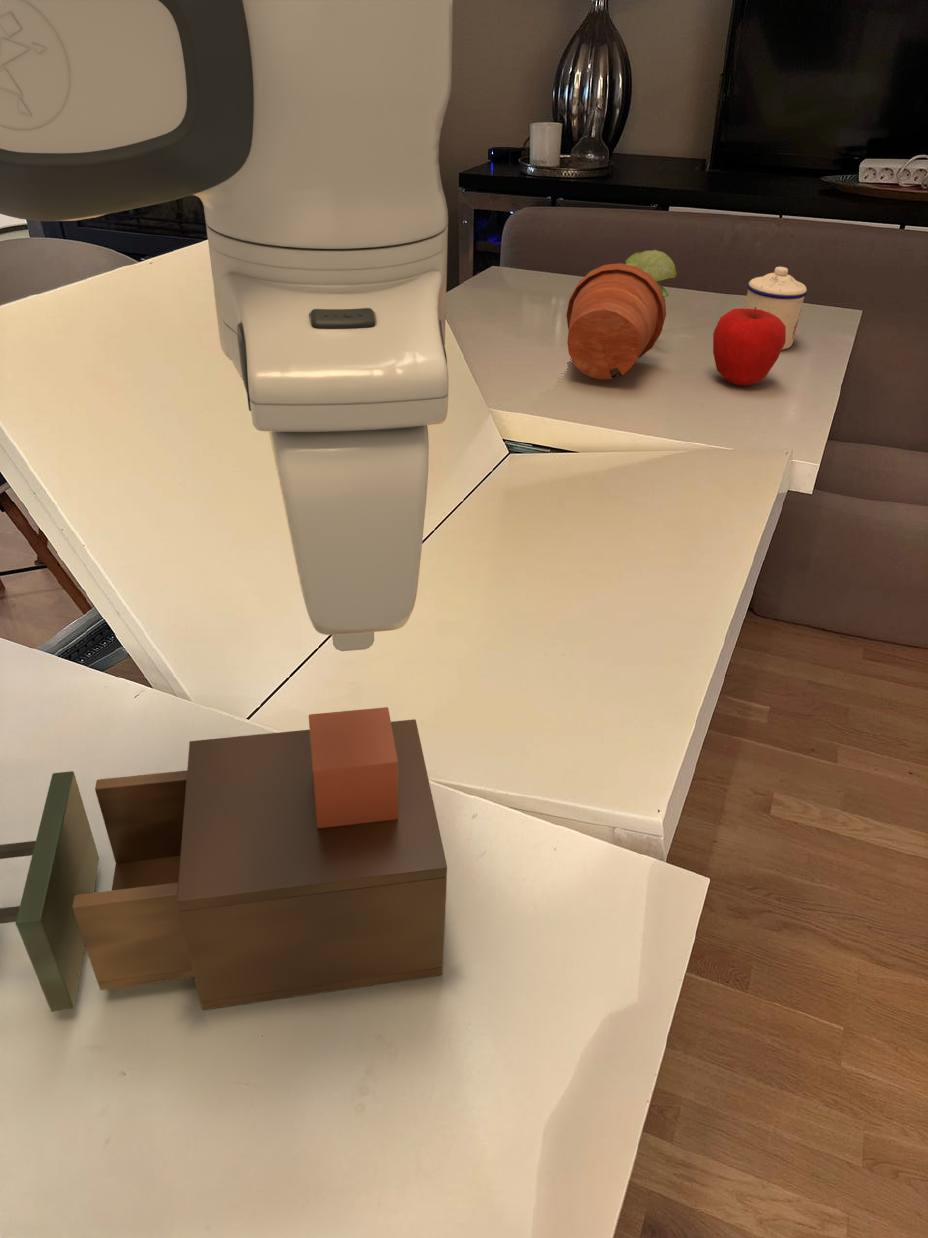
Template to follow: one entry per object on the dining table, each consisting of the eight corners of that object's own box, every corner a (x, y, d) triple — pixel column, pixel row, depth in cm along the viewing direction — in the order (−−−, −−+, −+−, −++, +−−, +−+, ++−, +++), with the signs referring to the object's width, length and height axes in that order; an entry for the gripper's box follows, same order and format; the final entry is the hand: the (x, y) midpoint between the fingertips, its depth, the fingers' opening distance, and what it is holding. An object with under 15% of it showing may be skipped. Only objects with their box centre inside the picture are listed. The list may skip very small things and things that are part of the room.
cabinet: (201, 1010, 50) (176, 901, 45) (209, 848, 60) (189, 740, 54) (442, 975, 53) (447, 867, 47) (414, 824, 62) (415, 718, 56)
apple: (693, 381, 132) (707, 305, 126) (723, 365, 138) (738, 292, 132) (756, 400, 127) (775, 322, 121) (784, 382, 133) (803, 307, 127)
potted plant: (651, 406, 128) (677, 314, 154) (661, 299, 118) (687, 219, 144) (542, 397, 132) (585, 308, 158) (544, 292, 122) (589, 216, 148)
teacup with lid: (803, 350, 145) (823, 275, 138) (751, 352, 143) (768, 276, 137) (769, 326, 155) (785, 255, 148) (719, 328, 153) (734, 255, 146)
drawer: (-43, 1026, 48) (-90, 936, 44) (0, 870, 57) (-35, 781, 52) (285, 979, 51) (274, 891, 47) (281, 837, 60) (271, 750, 55)
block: (317, 829, 49) (312, 770, 46) (313, 771, 52) (308, 713, 50) (398, 819, 50) (398, 761, 47) (388, 763, 53) (388, 706, 51)
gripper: (249, 235, 43) (274, 496, 51) (247, 405, 27) (284, 749, 35) (383, 234, 44) (386, 490, 52) (459, 397, 28) (447, 732, 36)
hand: (346, 596), depth 43 cm, fingers open, 6 cm apart
